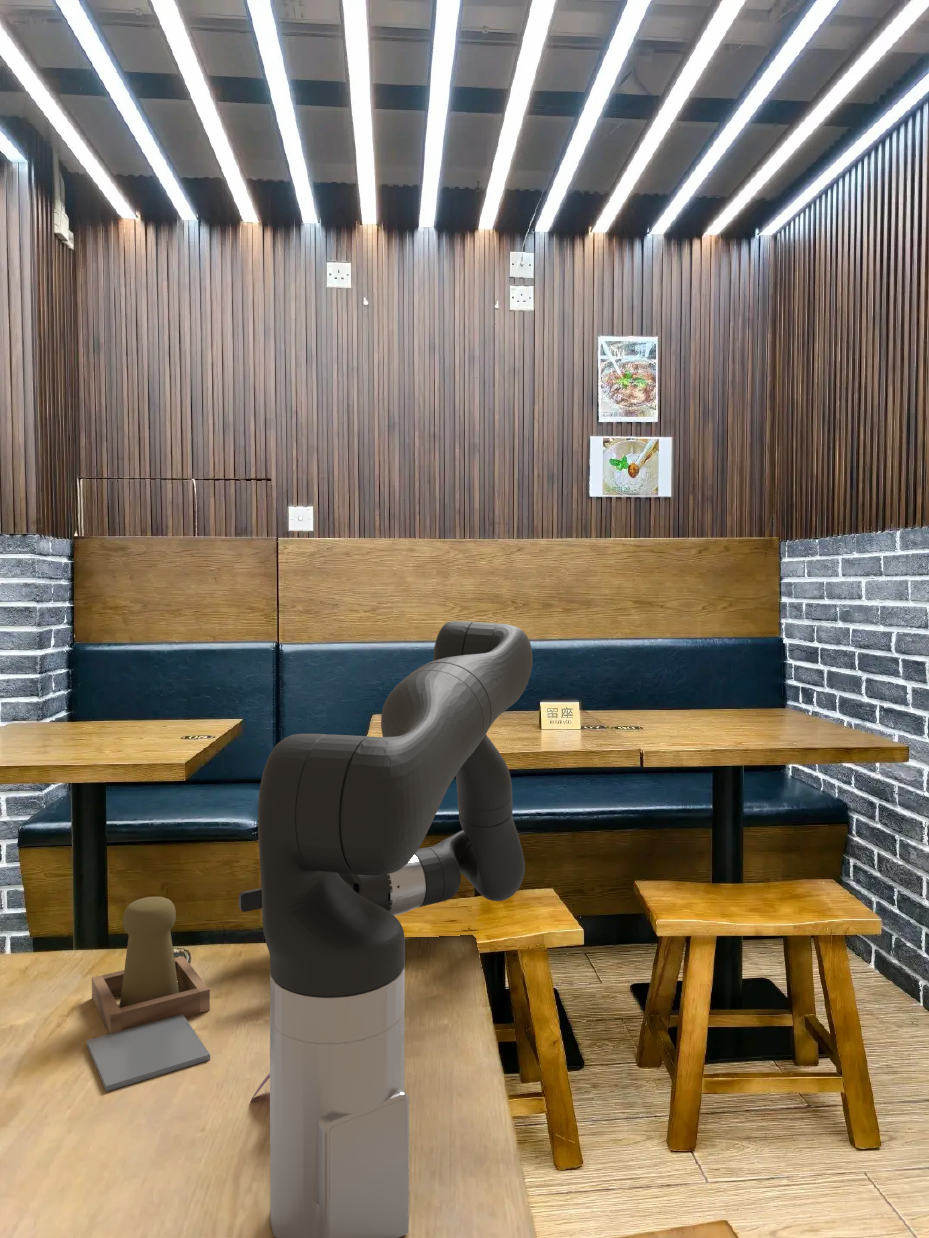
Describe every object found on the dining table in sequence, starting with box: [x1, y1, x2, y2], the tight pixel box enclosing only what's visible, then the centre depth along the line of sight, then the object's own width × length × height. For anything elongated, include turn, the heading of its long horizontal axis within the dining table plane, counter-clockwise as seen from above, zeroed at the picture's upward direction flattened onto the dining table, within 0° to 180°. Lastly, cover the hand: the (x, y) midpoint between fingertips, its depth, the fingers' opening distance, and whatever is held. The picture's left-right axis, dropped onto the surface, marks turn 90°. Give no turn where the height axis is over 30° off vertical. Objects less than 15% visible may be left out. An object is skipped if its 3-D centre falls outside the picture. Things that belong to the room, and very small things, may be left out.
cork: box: [118, 896, 180, 1008], centre depth 87 cm, size 6×6×11 cm
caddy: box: [91, 955, 211, 1034], centre depth 87 cm, size 10×10×2 cm
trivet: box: [86, 1014, 211, 1092], centre depth 78 cm, size 9×9×1 cm
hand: (252, 914), depth 93 cm, fingers open, 8 cm apart
